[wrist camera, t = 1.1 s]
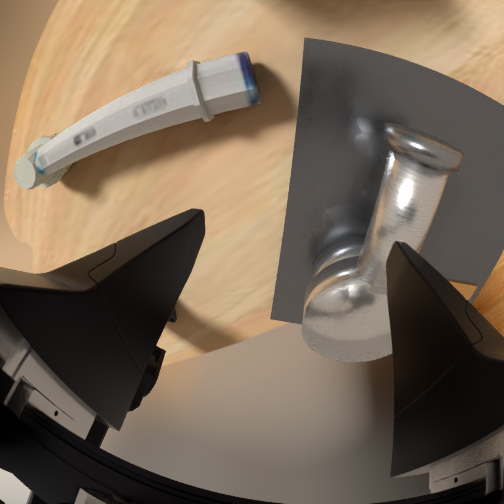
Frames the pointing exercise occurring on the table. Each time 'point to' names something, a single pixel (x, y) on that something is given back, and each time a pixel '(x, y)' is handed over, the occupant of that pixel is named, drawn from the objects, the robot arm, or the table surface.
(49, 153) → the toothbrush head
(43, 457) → the robot arm
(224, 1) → the table surface
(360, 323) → the dryer elbow
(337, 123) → the cutting board
